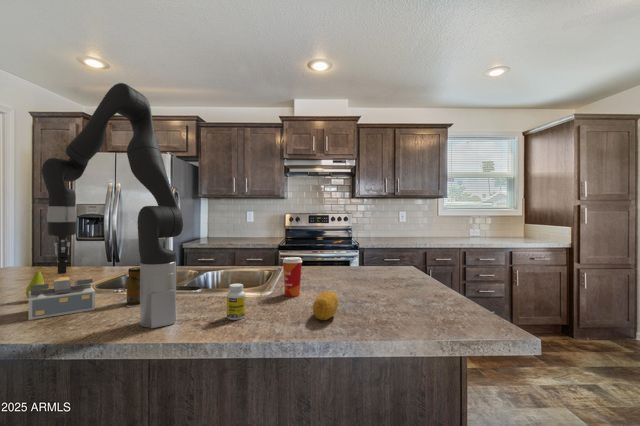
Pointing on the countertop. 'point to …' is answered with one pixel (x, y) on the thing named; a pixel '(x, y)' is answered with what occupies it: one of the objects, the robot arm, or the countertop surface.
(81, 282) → the switch right
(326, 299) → the potato
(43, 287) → the switch left
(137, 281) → the condiment
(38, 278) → the fruit
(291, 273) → the paper cup
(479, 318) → the countertop surface
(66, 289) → the switch middle
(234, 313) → the supplement bottle
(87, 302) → the switch unit
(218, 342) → the countertop surface
